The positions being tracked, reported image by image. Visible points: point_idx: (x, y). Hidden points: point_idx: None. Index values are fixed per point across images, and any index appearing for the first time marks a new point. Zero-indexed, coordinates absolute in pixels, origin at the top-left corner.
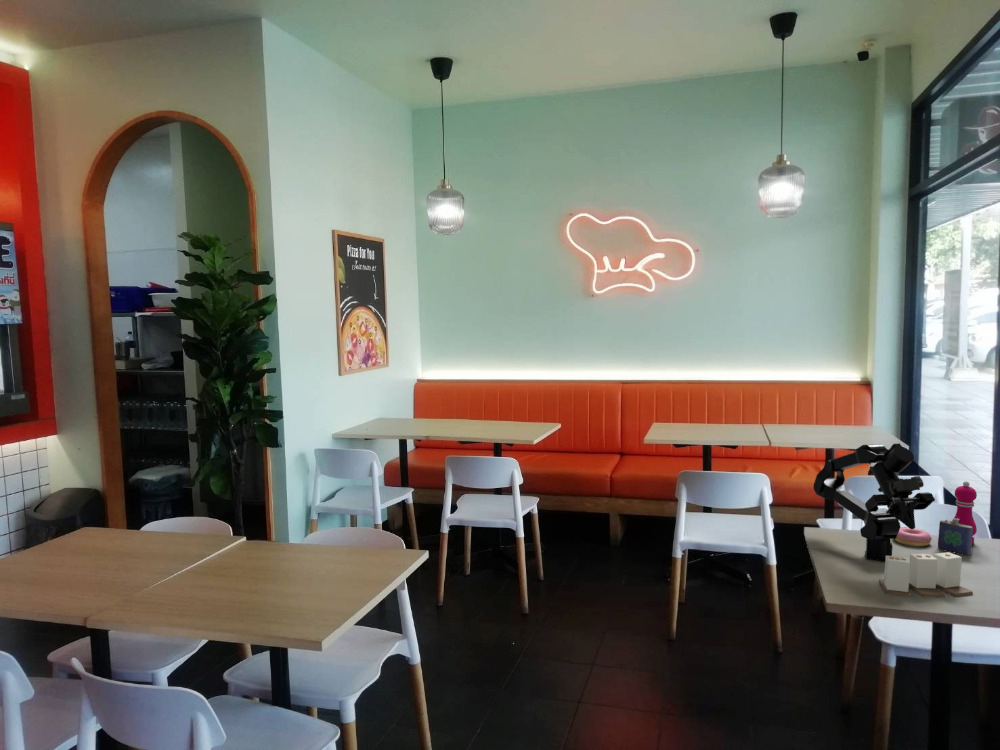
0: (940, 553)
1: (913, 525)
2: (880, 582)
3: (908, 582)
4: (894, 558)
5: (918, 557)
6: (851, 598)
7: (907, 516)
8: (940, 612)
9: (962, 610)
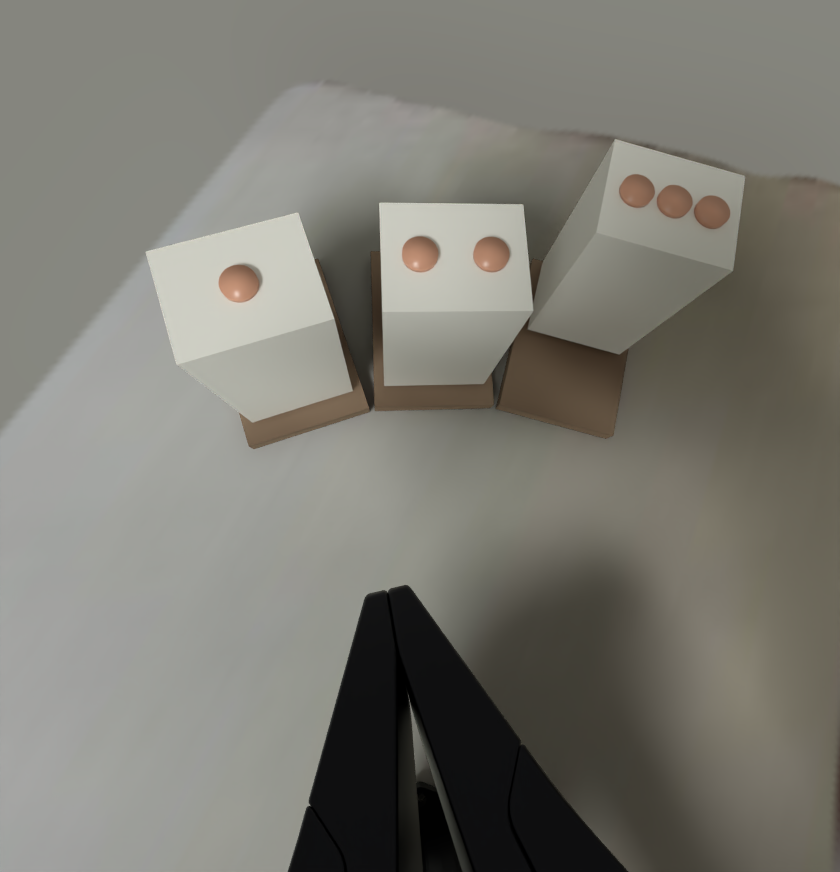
0: (272, 330)
1: (388, 612)
2: (617, 399)
3: (561, 232)
4: (692, 212)
5: (505, 236)
6: (790, 239)
7: (482, 751)
8: (478, 118)
9: (374, 135)
